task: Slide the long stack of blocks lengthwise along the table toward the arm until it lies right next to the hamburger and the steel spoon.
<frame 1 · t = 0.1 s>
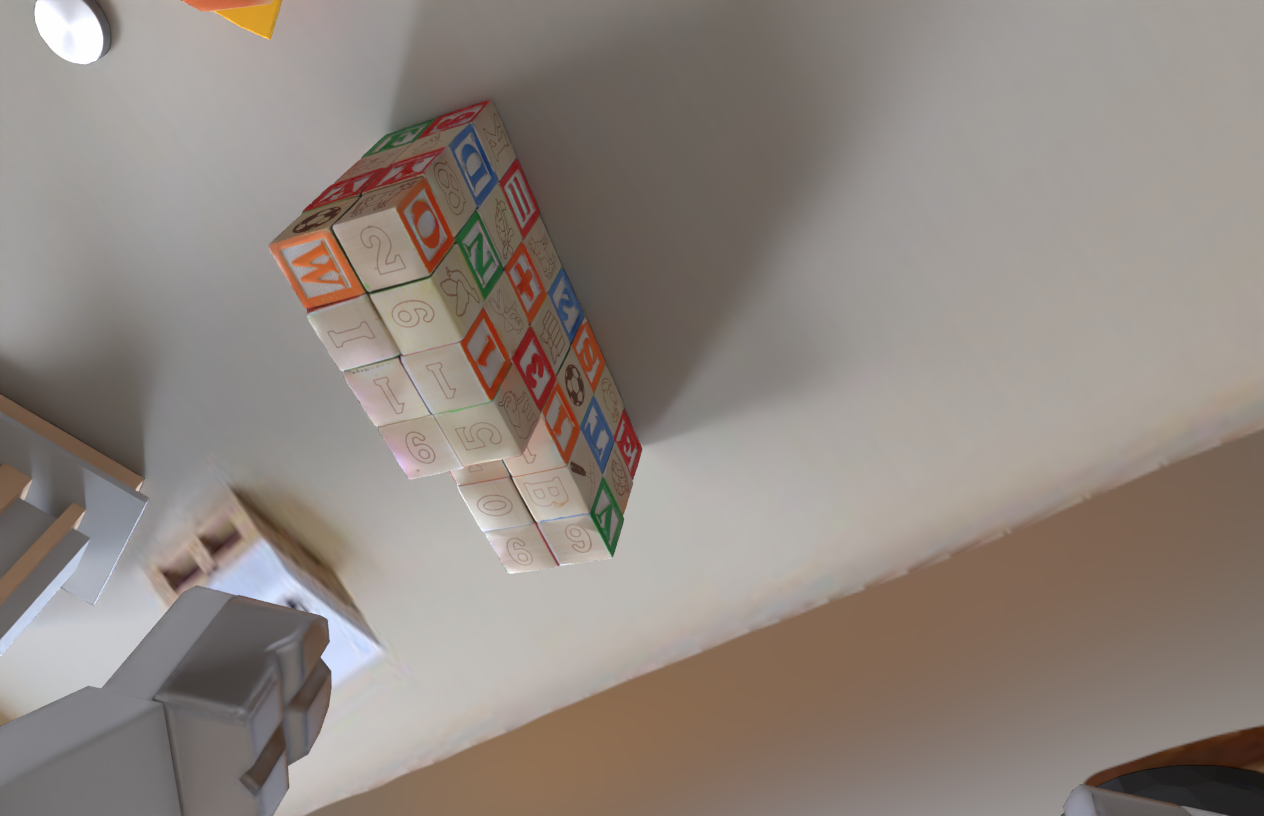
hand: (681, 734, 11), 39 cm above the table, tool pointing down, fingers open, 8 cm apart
stack of blocks: (525, 300, 55), on the table
desk lamp: (34, 471, 71), on the table
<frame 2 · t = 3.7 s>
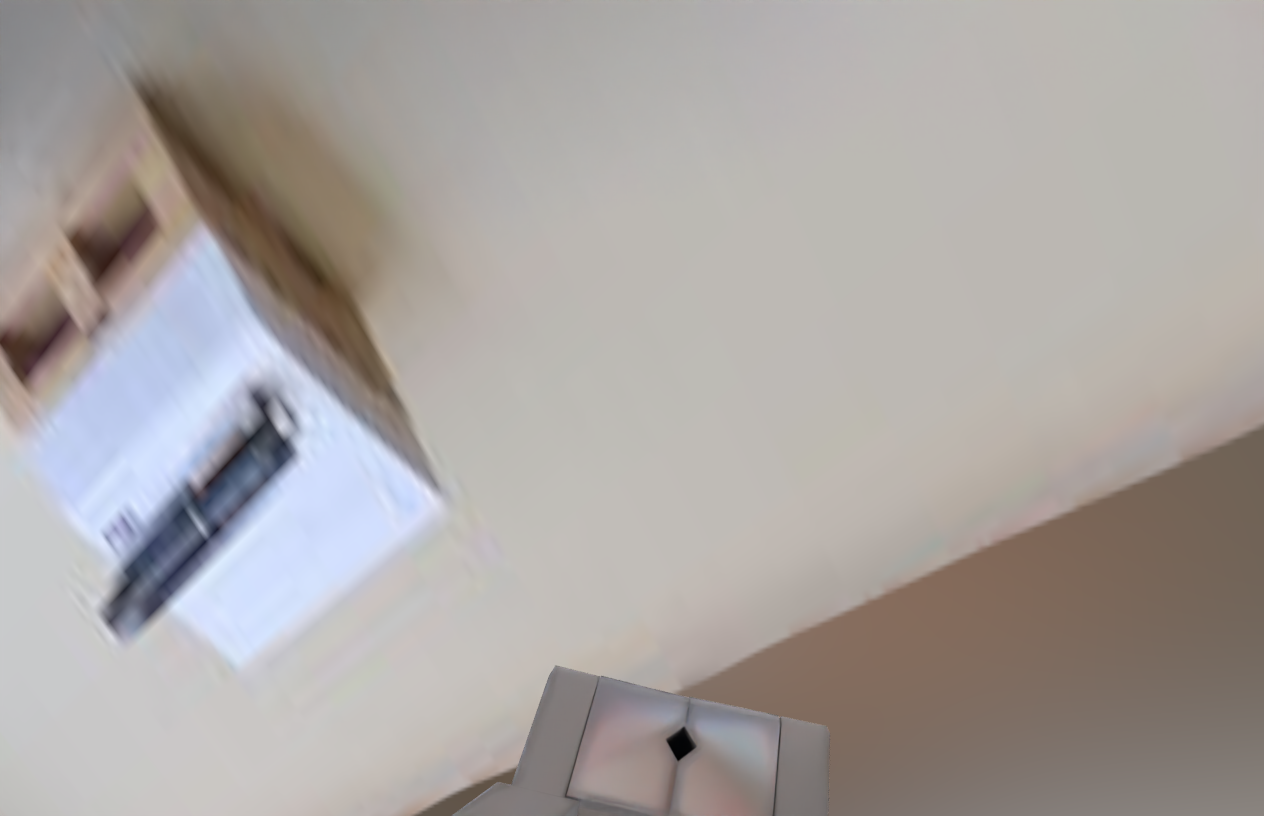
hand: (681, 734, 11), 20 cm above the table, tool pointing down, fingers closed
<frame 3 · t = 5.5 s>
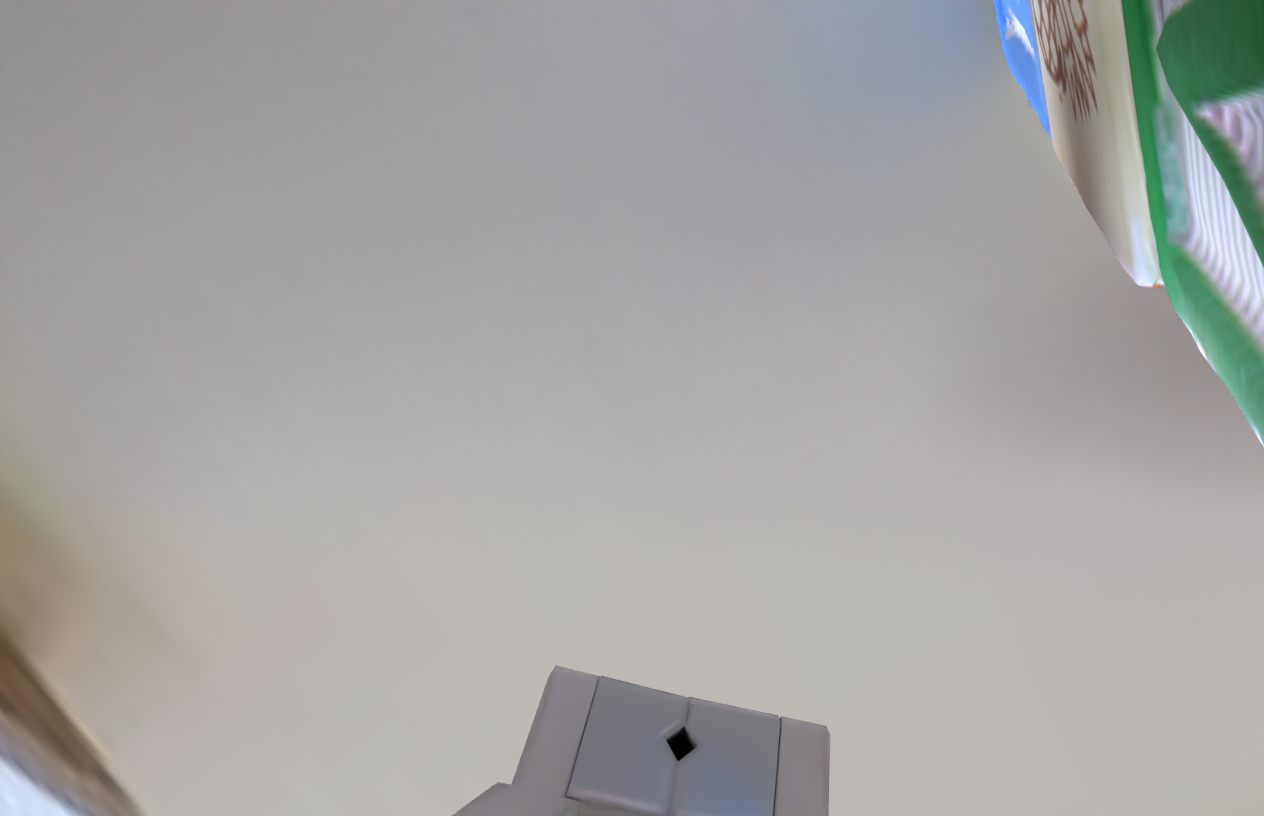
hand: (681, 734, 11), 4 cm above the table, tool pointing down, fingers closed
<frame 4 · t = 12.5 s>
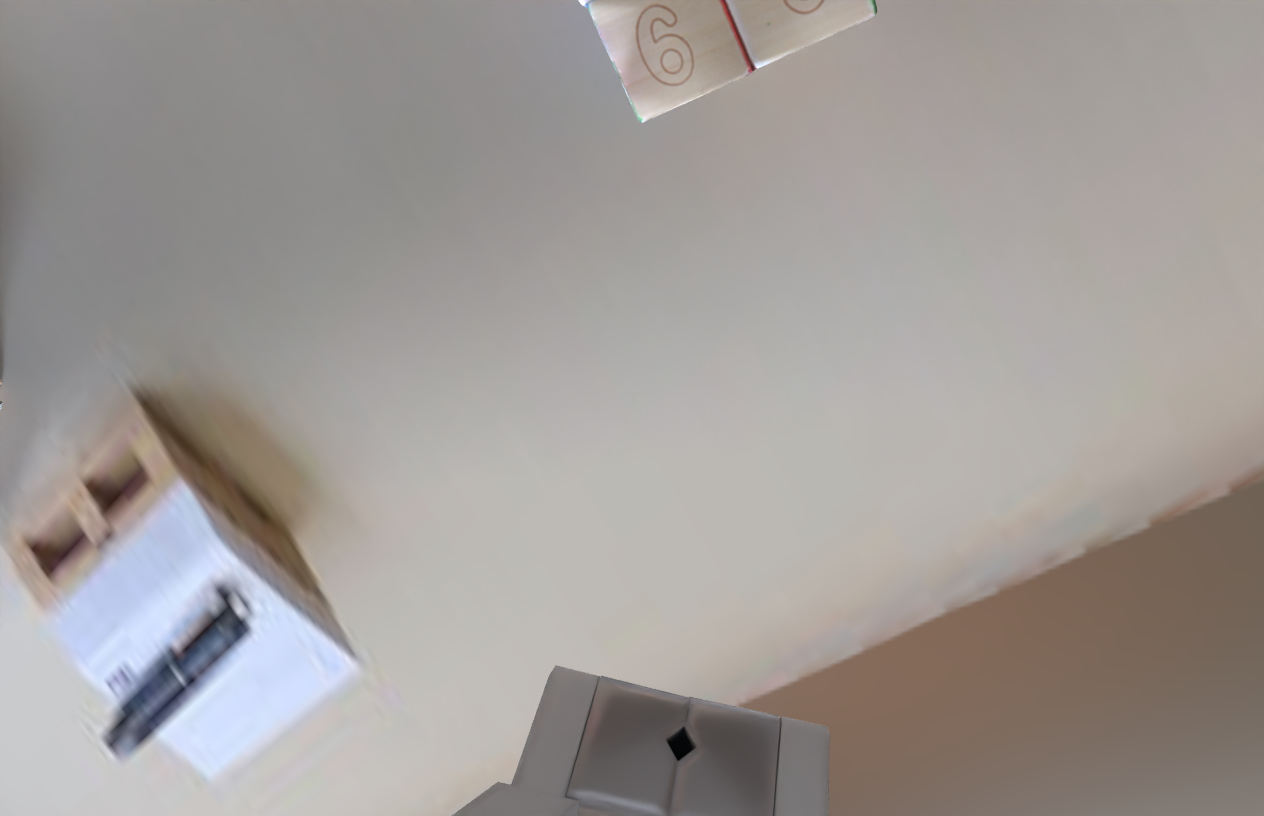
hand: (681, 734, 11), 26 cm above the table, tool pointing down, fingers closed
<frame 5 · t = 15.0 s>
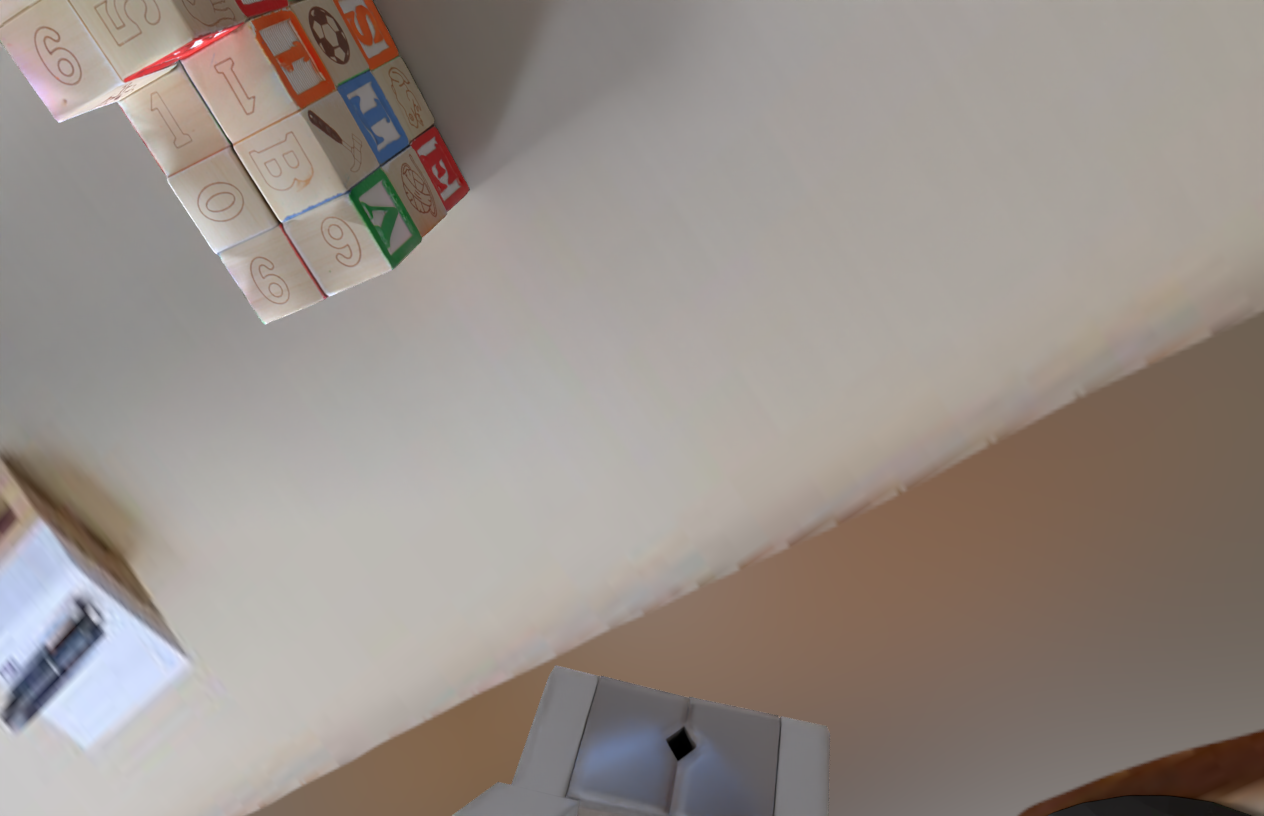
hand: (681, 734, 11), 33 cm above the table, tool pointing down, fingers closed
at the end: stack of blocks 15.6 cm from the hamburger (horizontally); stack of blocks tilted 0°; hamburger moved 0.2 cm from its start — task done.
